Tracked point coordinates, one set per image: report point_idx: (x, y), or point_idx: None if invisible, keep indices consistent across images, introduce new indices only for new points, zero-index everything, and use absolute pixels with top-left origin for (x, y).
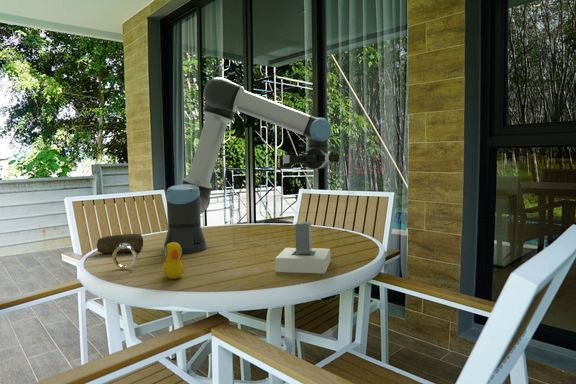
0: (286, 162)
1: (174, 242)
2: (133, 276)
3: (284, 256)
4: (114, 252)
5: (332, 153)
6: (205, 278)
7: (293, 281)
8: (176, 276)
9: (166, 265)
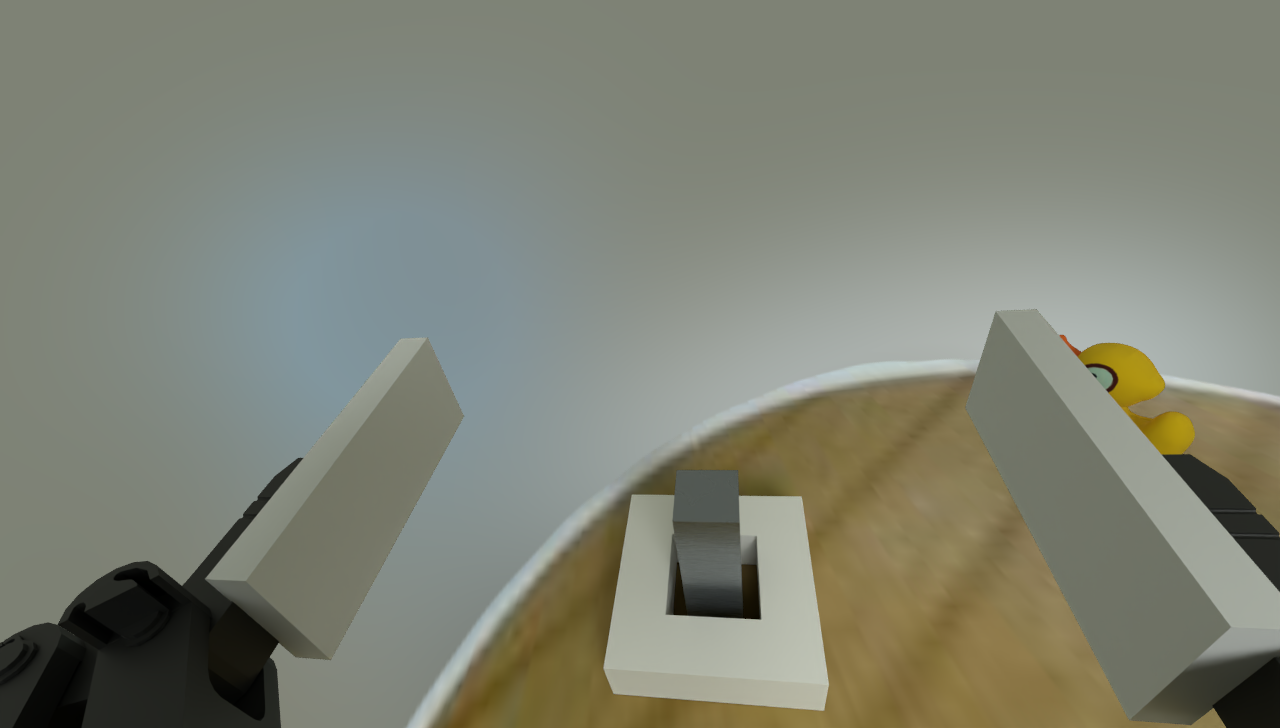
0: (996, 454)
1: (1122, 353)
2: (1254, 443)
3: (775, 517)
4: None
5: (144, 580)
6: (985, 450)
7: (719, 453)
8: None
9: None
